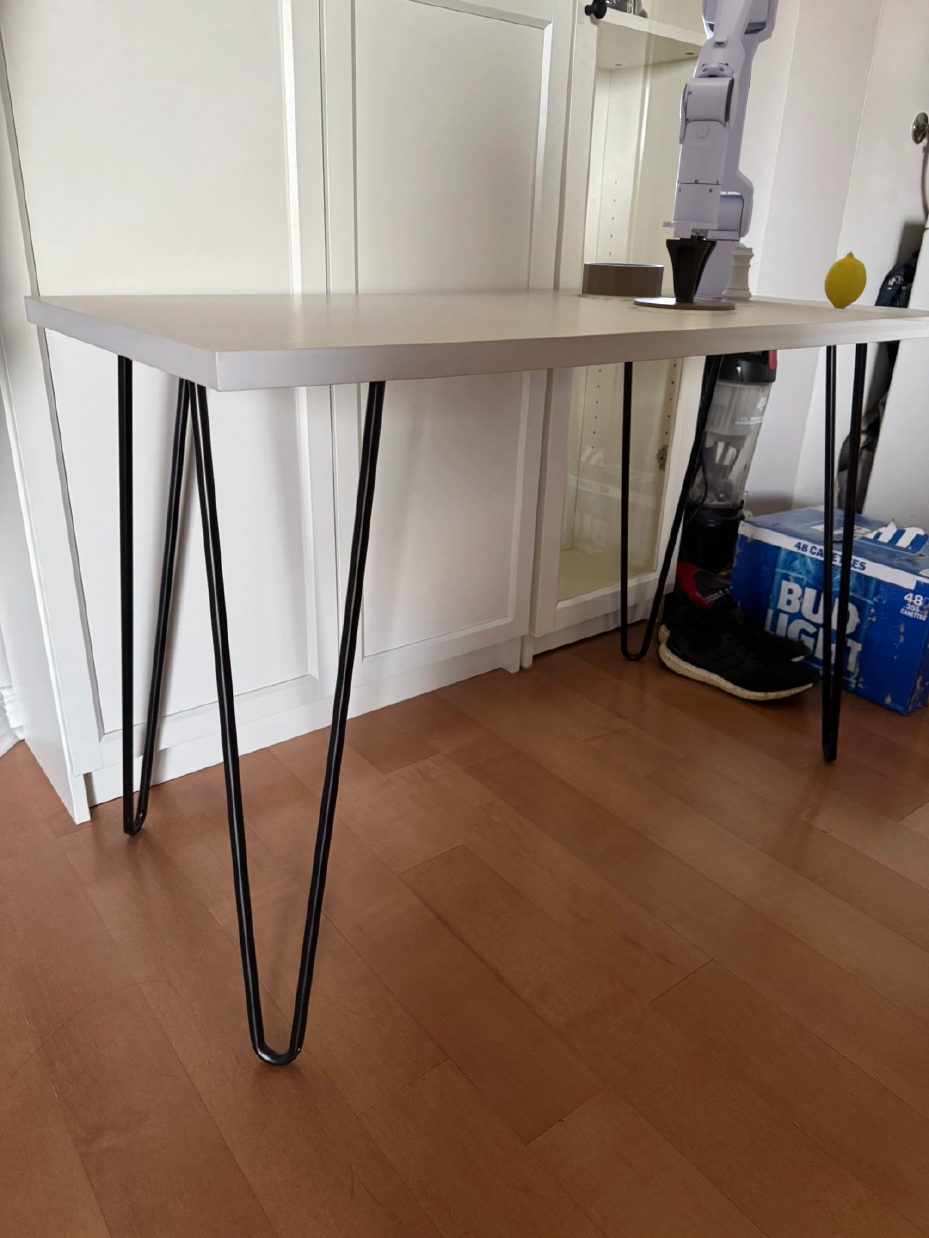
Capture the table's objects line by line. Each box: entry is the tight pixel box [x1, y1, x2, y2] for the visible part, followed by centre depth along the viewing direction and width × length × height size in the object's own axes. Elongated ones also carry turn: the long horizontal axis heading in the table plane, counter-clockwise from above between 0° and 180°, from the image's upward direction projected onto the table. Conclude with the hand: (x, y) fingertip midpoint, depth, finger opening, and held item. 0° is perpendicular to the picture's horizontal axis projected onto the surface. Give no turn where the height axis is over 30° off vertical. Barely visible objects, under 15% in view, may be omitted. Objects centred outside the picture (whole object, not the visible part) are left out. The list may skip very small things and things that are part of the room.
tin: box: [581, 261, 665, 298], centre depth 139 cm, size 12×12×5 cm
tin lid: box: [633, 283, 737, 311], centre depth 119 cm, size 14×14×6 cm
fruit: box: [823, 251, 868, 310], centre depth 127 cm, size 6×6×8 cm
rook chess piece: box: [720, 246, 755, 304], centre depth 130 cm, size 4×4×8 cm
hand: (684, 297), depth 119 cm, fingers closed on tin lid, 2 cm apart
